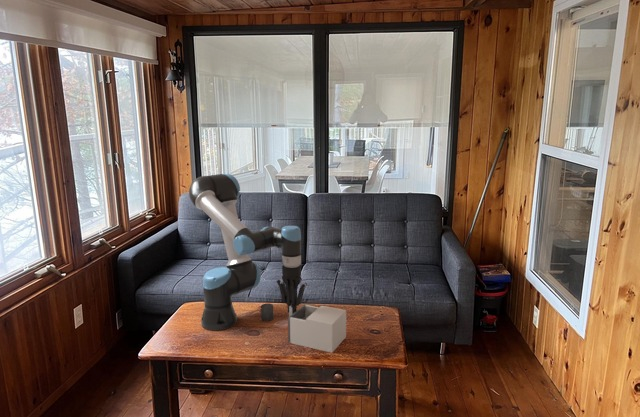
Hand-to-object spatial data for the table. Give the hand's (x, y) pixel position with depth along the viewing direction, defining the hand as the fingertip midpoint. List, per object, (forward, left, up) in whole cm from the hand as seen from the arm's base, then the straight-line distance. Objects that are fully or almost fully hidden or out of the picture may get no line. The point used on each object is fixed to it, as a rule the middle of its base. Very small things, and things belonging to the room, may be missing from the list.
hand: (292, 320), depth 179 cm
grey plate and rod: (+10, 0, -6) cm, 12 cm away
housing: (+12, 0, -6) cm, 13 cm away
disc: (+8, 0, -1) cm, 8 cm away
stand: (-17, +8, -6) cm, 20 cm away
